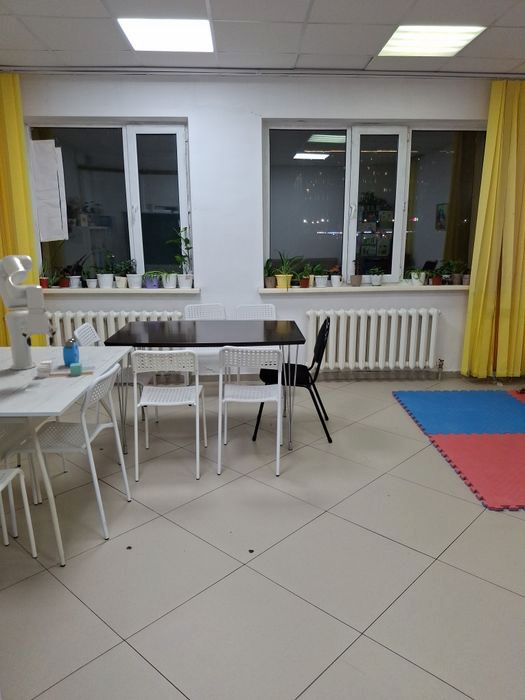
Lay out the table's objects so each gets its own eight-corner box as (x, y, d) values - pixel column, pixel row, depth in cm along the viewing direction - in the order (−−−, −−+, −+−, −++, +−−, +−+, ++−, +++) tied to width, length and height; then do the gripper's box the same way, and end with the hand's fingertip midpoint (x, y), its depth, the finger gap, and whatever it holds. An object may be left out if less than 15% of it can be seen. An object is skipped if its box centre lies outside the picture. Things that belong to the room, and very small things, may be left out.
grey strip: (44, 371, 247) (42, 360, 246) (95, 368, 253) (94, 357, 252) (41, 374, 240) (40, 363, 239) (94, 371, 247) (93, 360, 245)
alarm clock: (69, 363, 264) (66, 337, 261) (80, 362, 265) (78, 336, 262) (64, 369, 252) (61, 342, 248) (76, 368, 253) (73, 341, 250)
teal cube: (72, 372, 240) (71, 363, 239) (82, 372, 241) (81, 362, 240) (70, 375, 235) (69, 366, 234) (81, 374, 237) (80, 365, 235)
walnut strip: (40, 376, 237) (39, 365, 236) (93, 372, 244) (93, 361, 242) (37, 380, 231) (36, 368, 230) (92, 376, 237) (91, 365, 236)
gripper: (56, 309, 233) (60, 342, 236) (19, 311, 228) (23, 345, 232) (54, 311, 225) (58, 345, 229) (15, 313, 221) (19, 348, 225)
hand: (40, 345), depth 231 cm, fingers open, 9 cm apart
